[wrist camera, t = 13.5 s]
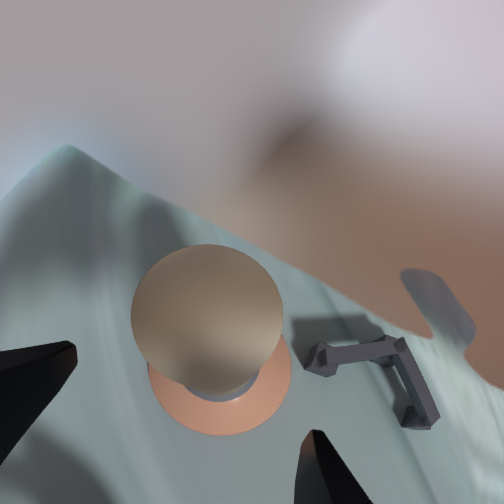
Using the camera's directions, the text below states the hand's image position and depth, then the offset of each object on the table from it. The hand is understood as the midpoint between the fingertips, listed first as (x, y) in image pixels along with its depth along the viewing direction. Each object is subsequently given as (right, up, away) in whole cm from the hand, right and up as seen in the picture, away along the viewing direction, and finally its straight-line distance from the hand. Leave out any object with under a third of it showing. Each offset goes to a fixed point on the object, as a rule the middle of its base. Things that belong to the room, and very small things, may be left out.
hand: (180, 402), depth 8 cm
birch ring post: (0, -4, +11) cm, 12 cm away
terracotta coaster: (0, -4, +12) cm, 12 cm away
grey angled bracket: (+13, -6, +12) cm, 18 cm away
